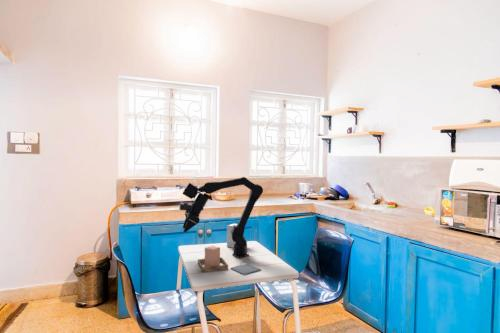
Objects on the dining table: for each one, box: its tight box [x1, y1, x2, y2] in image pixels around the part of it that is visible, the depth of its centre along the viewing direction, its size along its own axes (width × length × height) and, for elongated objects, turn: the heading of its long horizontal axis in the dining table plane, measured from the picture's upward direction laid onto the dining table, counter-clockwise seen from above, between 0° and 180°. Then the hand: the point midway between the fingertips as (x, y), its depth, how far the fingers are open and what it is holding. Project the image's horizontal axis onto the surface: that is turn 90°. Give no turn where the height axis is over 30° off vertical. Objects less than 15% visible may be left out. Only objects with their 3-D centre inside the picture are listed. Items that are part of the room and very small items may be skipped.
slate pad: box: [230, 263, 262, 276], centre depth 146 cm, size 10×10×1 cm
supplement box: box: [226, 223, 245, 249], centre depth 185 cm, size 7×7×13 cm
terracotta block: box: [204, 245, 221, 267], centre depth 150 cm, size 5×5×9 cm
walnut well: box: [197, 256, 229, 273], centre depth 150 cm, size 12×12×2 cm
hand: (183, 230), depth 163 cm, fingers open, 9 cm apart
